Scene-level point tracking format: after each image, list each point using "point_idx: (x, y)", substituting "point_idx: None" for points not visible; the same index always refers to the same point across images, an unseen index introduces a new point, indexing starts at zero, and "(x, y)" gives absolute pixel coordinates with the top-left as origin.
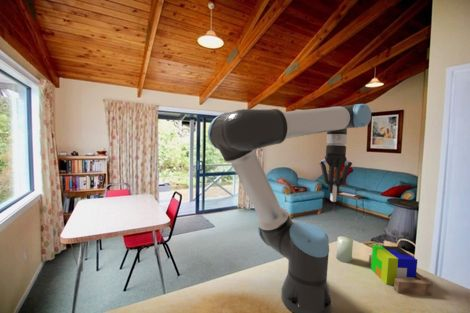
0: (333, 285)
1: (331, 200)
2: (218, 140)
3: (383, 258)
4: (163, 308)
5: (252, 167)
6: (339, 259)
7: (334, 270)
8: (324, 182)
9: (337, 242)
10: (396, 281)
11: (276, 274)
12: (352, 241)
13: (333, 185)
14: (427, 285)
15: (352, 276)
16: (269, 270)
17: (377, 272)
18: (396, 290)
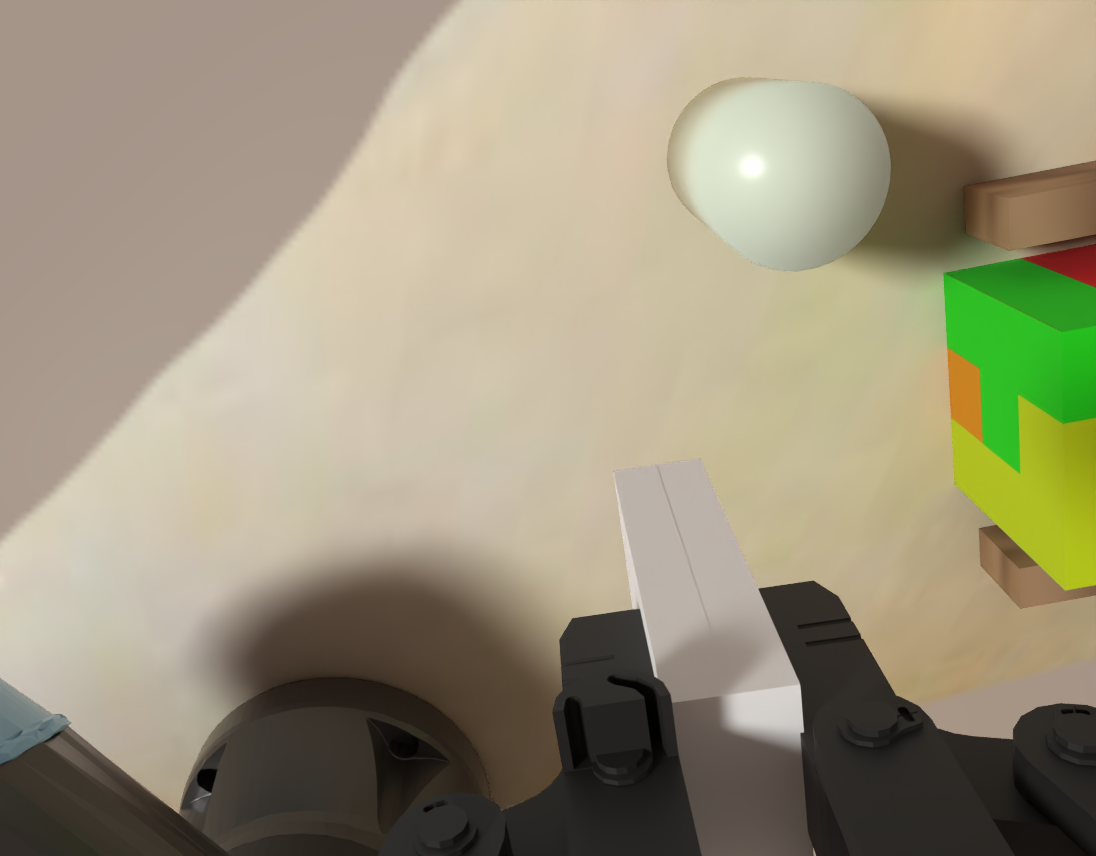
0: (543, 610)
1: (626, 557)
2: None
3: (1042, 505)
4: None
5: None
6: (686, 207)
7: (593, 405)
8: (402, 830)
9: (697, 171)
10: (1013, 580)
11: (116, 604)
12: (871, 224)
13: (732, 776)
14: None
15: (724, 452)
16: (49, 569)
17: (959, 376)
18: (983, 556)
